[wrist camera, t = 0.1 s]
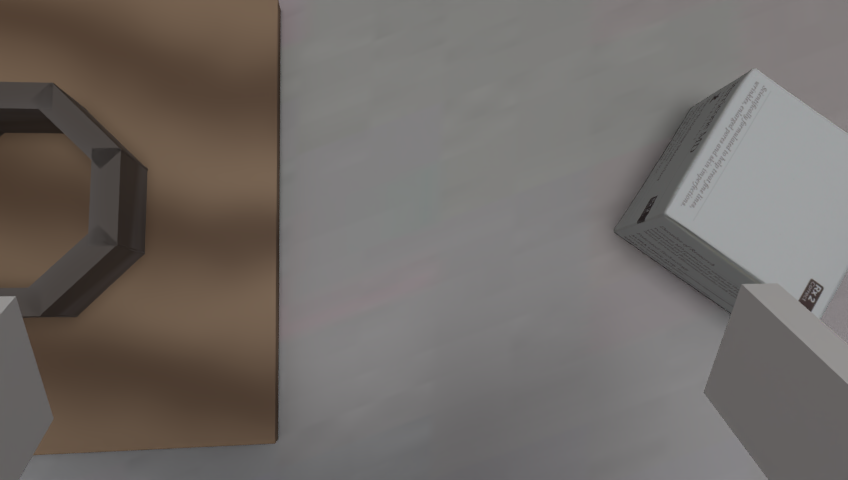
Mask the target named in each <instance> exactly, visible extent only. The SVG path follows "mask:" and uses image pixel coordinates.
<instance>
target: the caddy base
mask: <svg viewBox="0 0 848 480" xmlns="http://www.w3.org/2000/svg"><path fill="white" fill-rule="evenodd" d="M279 170H280V6H279V1H278V0H0V296H16V299H17V302H18V305H19V308H20V311H21V315H22V318H23V321H24V324H25V328H26V331H27V334H28V337H29V340H30V344H31V347H32V350H33V353H34V357H35V360H36V363H37V366H38V370H39V373H40V376H41V379H42V382H43V386H44V389H45V392H46V395H47V399H48V402H49V405H50V408H51V411H52V415H53V418H54V419H53V421H52V422H51V424H50V426H49V428H48V430H47V431H46V433H45V435H44V437H43V438H42V440H41V442H40V444H39V445H38V447H37V449H36V451H35V452H34V454H33V455H45V454H66V453H87V452H108V451H128V450H149V449H170V448H191V447H211V446H232V445H253V444H274V443H276V441H277V439H278V345H279Z"/></svg>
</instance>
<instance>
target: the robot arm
mask: <svg viewBox="0 0 848 480" xmlns="http://www.w3.org/2000/svg"><path fill="white" fill-rule="evenodd" d="M704 394H705V395H706V396H707V398H708V399H709V400H710V402H711V403H712V404H713V406H714V407H715V408H716V410H717V411H718V412H719V414H720V415H721V416H722V418H723V419H724V420H725V422H726V423H727V424H728V426H729V427H730V428H731V430H732V431H733V433H734V434H735V435H736V437H737V438H738V439H739V441H740V442H741V443H742V445H743V446H744V447H745V449H746V450H747V451H748V453H749V454H750V455H751V457H752V458H753V459H754V461H755V462H756V463H757V465H758V466H759V467H760V469H761V470H762V472H763V473H764V474H765V476H766V477H767V478H768V480H848V344H847V343H846V342H845V341H844V340H843V339H842V338H840V337H839V336H838V335H837V334H836V333H835V332H834V331H832V330H831V329H830V328H829V327H828V326H827V325H825V324H824V323H823V322H822V321H821V320H820V319H818V318H817V317H816V316H815V315H814V314H813V313H812V312H810V311H809V310H808V309H807V308H806V307H805V306H803V305H802V304H801V303H800V302H799V301H798V300H796V299H795V298H794V297H793V296H792V295H791V294H790V293H788V292H787V291H786V290H785V289H784V288H783V287H781V286H780V285H779V284H778V283H772V284H741V287H740V290H739V293H738V296H737V299H736V302H735V304H734V307H733V310H732V313H731V316H730V319H729V321H728V324H727V327H726V330H725V333H724V336H723V339H722V341H721V344H720V347H719V350H718V353H717V356H716V358H715V361H714V364H713V367H712V370H711V373H710V375H709V378H708V381H707V384H706V387H705V390H704ZM53 419H54V418H53V415H52V411H51V408H50V405H49V402H48V399H47V395H46V392H45V389H44V386H43V382H42V379H41V376H40V373H39V370H38V366H37V363H36V360H35V357H34V353H33V350H32V347H31V344H30V340H29V337H28V334H27V331H26V328H25V324H24V321H23V318H22V315H21V311H20V308H19V305H18V302H17V299H16V296H0V480H19V479H20V477H21V475H22V473H23V472H24V470H25V468H26V466H27V465H28V463H29V461H30V459H31V458H32V456H33V454H34V452H35V451H36V449H37V447H38V445H39V444H40V442H41V440H42V438H43V437H44V435H45V433H46V431H47V430H48V428H49V426H50V424H51V422H52V421H53Z"/></svg>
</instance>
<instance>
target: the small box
mask: <svg viewBox="0 0 848 480" xmlns="http://www.w3.org/2000/svg"><path fill="white" fill-rule="evenodd" d="M614 232H615V233H616V234H618V235H619V236H621V237H622V238H624V239H625V240H627V241H628V242H629V243H631V244H632V245H634V246H635V247H637V248H638V249H639V250H641V251H642V252H644V253H645V254H647V255H648V256H650V257H651V258H652V259H654V260H655V261H657V262H658V263H659V264H661V265H662V266H664V267H665V268H667V269H668V270H669V271H671V272H672V273H674V274H675V275H677V276H678V277H680V278H681V279H682V280H684V281H685V282H687V283H688V284H690V285H691V286H692V287H694V288H695V289H697V290H698V291H700V292H701V293H703V294H704V295H705V296H707V297H708V298H710V299H711V300H713V301H714V302H715V303H717V304H718V305H720V306H721V307H723V308H724V309H726V310H727V311H728V312H730V313H732V310H733V307H734V304H735V302H736V299H737V296H738V293H739V290H740V287H741V284H772V283H778V284H779V285H780V286H781V287H783V288H784V289H785V290H786V291H787V292H788V293H790V294H791V295H792V296H793V297H794V298H795V299H796V300H798V301H799V302H800V303H801V304H802V305H803V306H805V307H806V308H807V309H808V310H809V311H810V312H812V313H813V314H814V315H815V316H816V317H817V318H818V319H821V317H822V316H823V314H824V312H825V311H826V309H827V307H828V305H829V303H830V302H831V300H832V298H833V296H834V294H835V293H836V291H837V289H838V287H839V285H840V284H841V282H842V280H843V278H844V276H845V274H846V273H847V271H848V133H847V132H845V131H844V130H842V129H841V128H839V127H838V126H836V125H835V124H833V123H832V122H831V121H829V120H828V119H826V118H825V117H823V116H822V115H820V114H819V113H818V112H816V111H815V110H813V109H812V108H811V107H809V106H808V105H806V104H805V103H803V102H802V101H801V100H799V99H798V98H796V97H795V96H794V95H792V94H791V93H789V92H788V91H786V90H785V89H783V88H782V87H781V86H779V85H778V84H777V83H775V82H774V81H772V80H771V79H770V78H768V77H767V76H765V75H764V74H763V73H761V72H760V71H759V70H757V69H755V68H753V69H752V70H750V71H749V72H747V73H746V74H744V75H743V76H741V77H740V78H738V79H736V80H735V81H733V82H731V83H730V84H728V85H727V86H725V87H723V88H722V89H720V90H718V91H717V92H715V93H713V94H712V95H710V96H709V97H707V98H706V99H704V100H703V101H701V102H700V103H698V104H696V105H695V106H693V107H692V108H691V110H690V111H689V113H688V114H687V116H686V118H685V119H684V121H683V123H682V124H681V126H680V128H679V129H678V131H677V132H676V134H675V136H674V137H673V139H672V141H671V142H670V144H669V145H668V147H667V148H666V150H665V152H664V153H663V155H662V157H661V158H660V160H659V161H658V163H657V164H656V166H655V167H654V169H653V171H652V172H651V174H650V175H649V177H648V179H647V180H646V182H645V183H644V185H643V187H642V188H641V190H640V191H639V193H638V194H637V196H636V197H635V199H634V200H633V202H632V203H631V205H630V207H629V208H628V210H627V211H626V213H625V214H624V216H623V217H622V219H621V220H620V221H619V223H618V224H617V226H616V227H615V229H614Z"/></svg>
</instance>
